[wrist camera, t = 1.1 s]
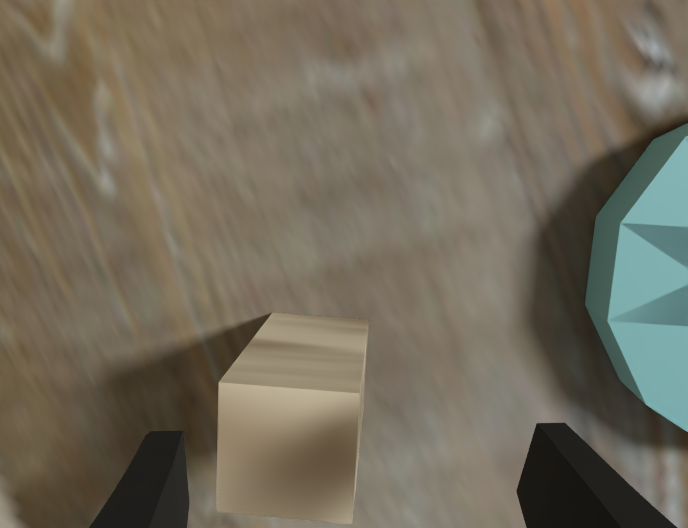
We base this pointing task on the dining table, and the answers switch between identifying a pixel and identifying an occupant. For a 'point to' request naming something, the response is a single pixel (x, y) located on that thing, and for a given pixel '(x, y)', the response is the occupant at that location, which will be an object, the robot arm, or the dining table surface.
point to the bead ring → (646, 277)
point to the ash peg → (293, 420)
